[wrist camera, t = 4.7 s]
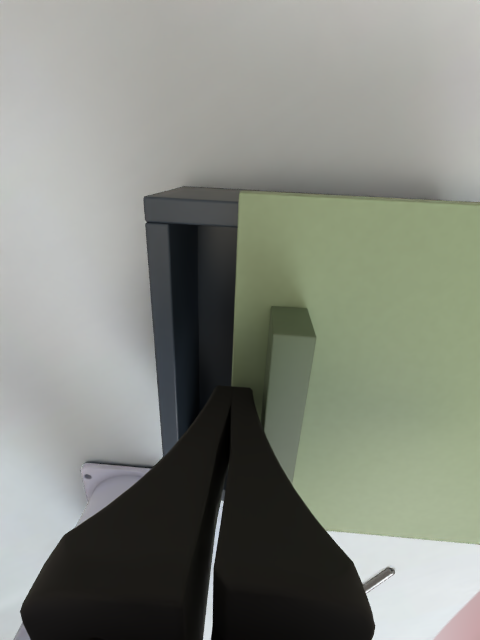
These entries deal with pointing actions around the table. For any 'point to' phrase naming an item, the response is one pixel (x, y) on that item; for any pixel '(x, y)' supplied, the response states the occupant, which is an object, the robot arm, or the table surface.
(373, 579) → the rod
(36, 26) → the table surface
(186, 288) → the bin
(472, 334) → the lid
